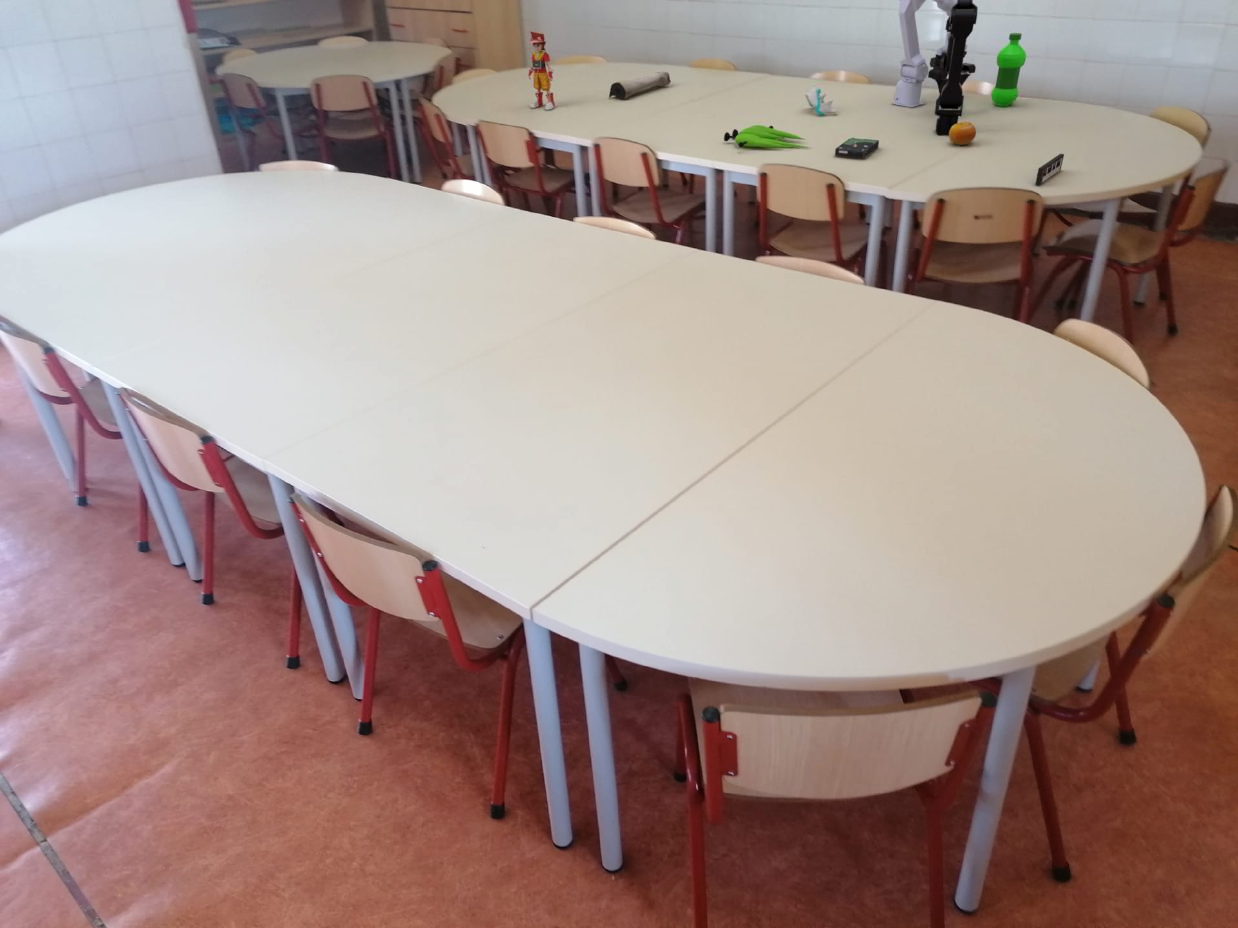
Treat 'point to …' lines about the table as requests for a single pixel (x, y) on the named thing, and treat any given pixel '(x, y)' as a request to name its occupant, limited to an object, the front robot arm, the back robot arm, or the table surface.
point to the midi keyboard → (1049, 169)
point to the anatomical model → (819, 102)
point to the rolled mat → (638, 84)
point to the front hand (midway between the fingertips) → (948, 95)
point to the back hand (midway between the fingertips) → (948, 72)
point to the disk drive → (856, 148)
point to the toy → (541, 71)
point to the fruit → (962, 133)
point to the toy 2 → (761, 137)
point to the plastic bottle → (1008, 71)
